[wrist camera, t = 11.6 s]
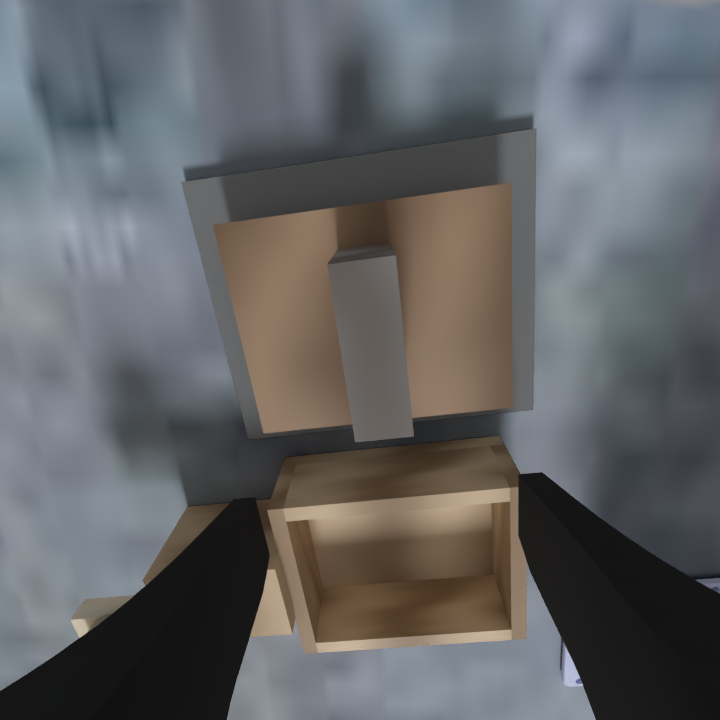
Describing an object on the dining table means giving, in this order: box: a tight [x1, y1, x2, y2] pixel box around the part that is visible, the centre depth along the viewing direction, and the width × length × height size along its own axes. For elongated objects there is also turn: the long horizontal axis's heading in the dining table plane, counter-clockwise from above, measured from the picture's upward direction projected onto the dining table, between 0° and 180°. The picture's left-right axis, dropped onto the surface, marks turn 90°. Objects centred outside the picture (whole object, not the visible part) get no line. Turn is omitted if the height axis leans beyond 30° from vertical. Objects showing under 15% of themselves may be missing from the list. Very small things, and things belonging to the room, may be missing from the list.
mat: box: [182, 129, 536, 440], centre depth 19 cm, size 14×12×1 cm
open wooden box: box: [143, 436, 527, 654], centre depth 21 cm, size 17×9×5 cm, turn 98°
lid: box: [213, 183, 513, 442], centre depth 16 cm, size 11×9×6 cm
